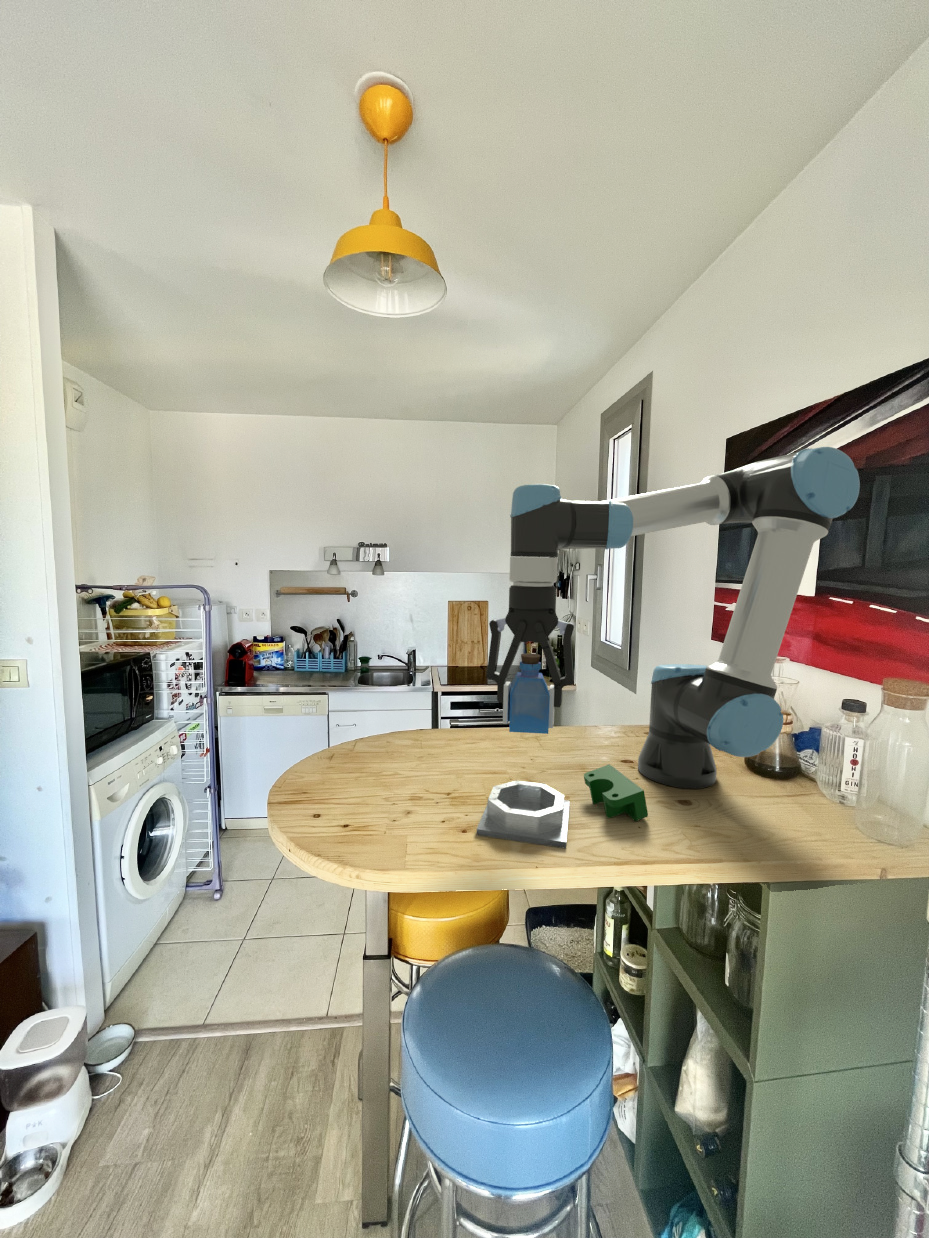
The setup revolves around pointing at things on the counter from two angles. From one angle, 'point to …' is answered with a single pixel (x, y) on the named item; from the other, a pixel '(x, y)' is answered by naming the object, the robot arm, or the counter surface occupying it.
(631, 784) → the clamp
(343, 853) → the counter surface
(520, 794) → the flange
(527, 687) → the perfume bottle
